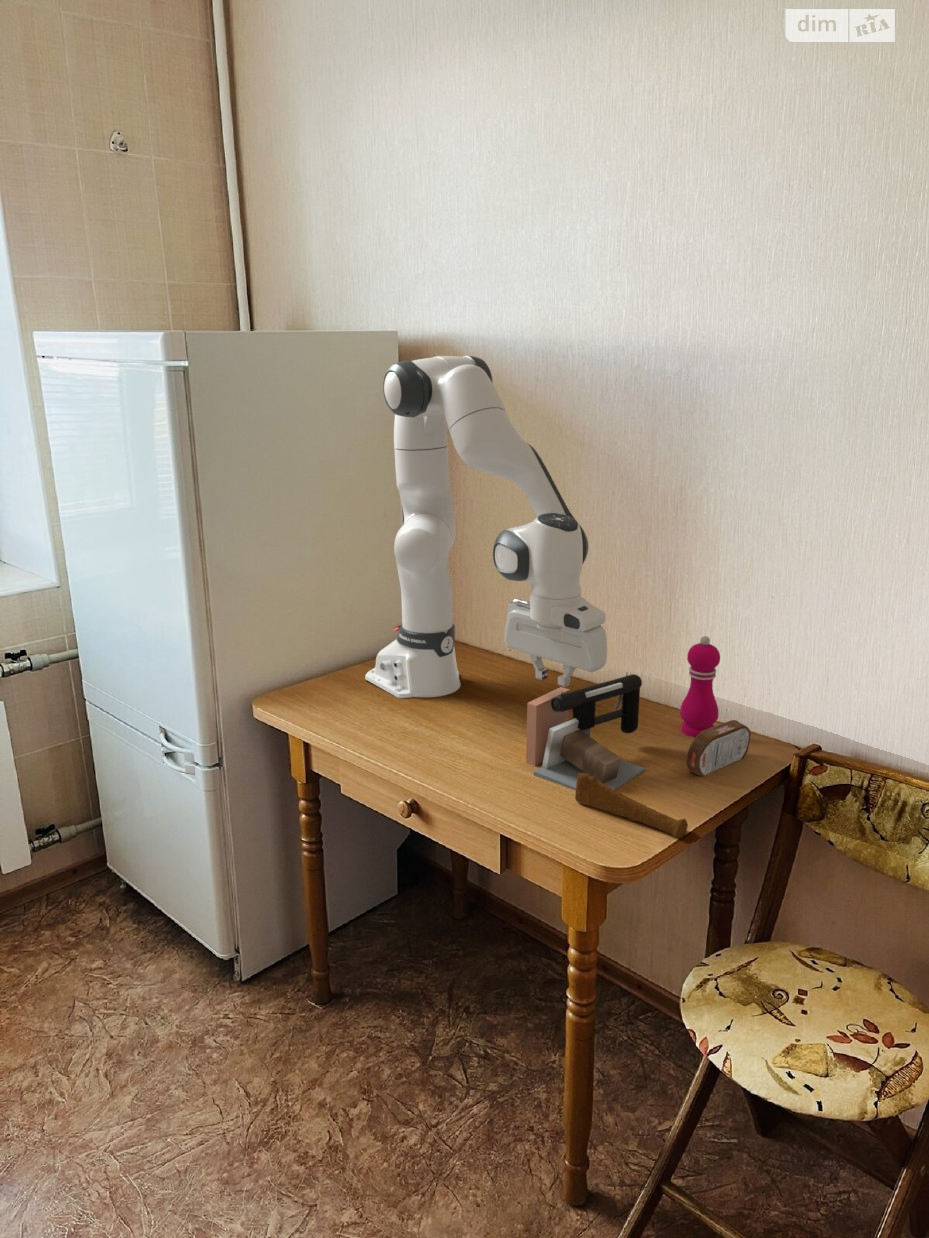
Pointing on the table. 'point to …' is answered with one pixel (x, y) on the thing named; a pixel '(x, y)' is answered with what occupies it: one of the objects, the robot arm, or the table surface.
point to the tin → (718, 747)
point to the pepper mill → (700, 689)
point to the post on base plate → (580, 752)
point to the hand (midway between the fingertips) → (552, 682)
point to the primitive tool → (625, 806)
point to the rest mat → (569, 773)
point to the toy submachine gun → (588, 696)
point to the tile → (542, 724)
